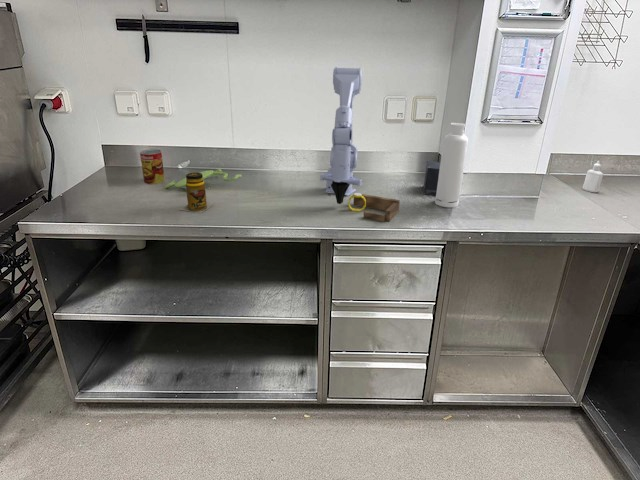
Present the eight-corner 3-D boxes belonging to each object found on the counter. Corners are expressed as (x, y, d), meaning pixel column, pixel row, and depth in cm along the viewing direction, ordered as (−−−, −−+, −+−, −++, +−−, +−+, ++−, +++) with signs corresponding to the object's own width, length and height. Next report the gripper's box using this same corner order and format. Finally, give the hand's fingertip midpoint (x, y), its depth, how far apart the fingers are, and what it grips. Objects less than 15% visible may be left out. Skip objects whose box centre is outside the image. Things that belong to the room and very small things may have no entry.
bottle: (437, 198, 163) (448, 121, 151) (460, 202, 159) (472, 123, 148) (432, 205, 156) (443, 124, 144) (455, 208, 153) (468, 127, 141)
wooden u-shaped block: (342, 214, 146) (342, 202, 145) (354, 203, 156) (355, 192, 154) (388, 222, 140) (389, 210, 138) (398, 211, 150) (399, 200, 148)
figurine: (246, 187, 171) (245, 173, 169) (180, 200, 156) (178, 185, 154) (224, 176, 184) (224, 163, 182) (161, 187, 169) (159, 173, 167)
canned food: (140, 181, 174) (135, 151, 169) (157, 177, 180) (152, 148, 175) (152, 185, 170) (148, 155, 165) (169, 181, 176) (165, 151, 171)
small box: (440, 196, 165) (444, 168, 161) (423, 194, 167) (426, 167, 162) (439, 187, 175) (443, 161, 170) (423, 186, 176) (426, 160, 172)
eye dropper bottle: (588, 192, 172) (596, 162, 167) (580, 188, 177) (589, 159, 172) (599, 193, 172) (608, 163, 167) (591, 188, 177) (600, 159, 172)
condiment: (201, 213, 144) (197, 178, 140) (178, 210, 147) (174, 175, 142) (212, 206, 151) (209, 172, 146) (190, 203, 153) (187, 169, 148)
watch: (364, 210, 151) (367, 193, 148) (364, 213, 148) (367, 196, 146) (347, 208, 151) (349, 191, 149) (347, 211, 149) (349, 194, 146)
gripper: (316, 164, 145) (315, 202, 151) (357, 169, 140) (355, 210, 145) (325, 159, 151) (324, 197, 157) (365, 164, 145) (362, 203, 151)
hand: (339, 202), depth 151 cm, fingers closed
